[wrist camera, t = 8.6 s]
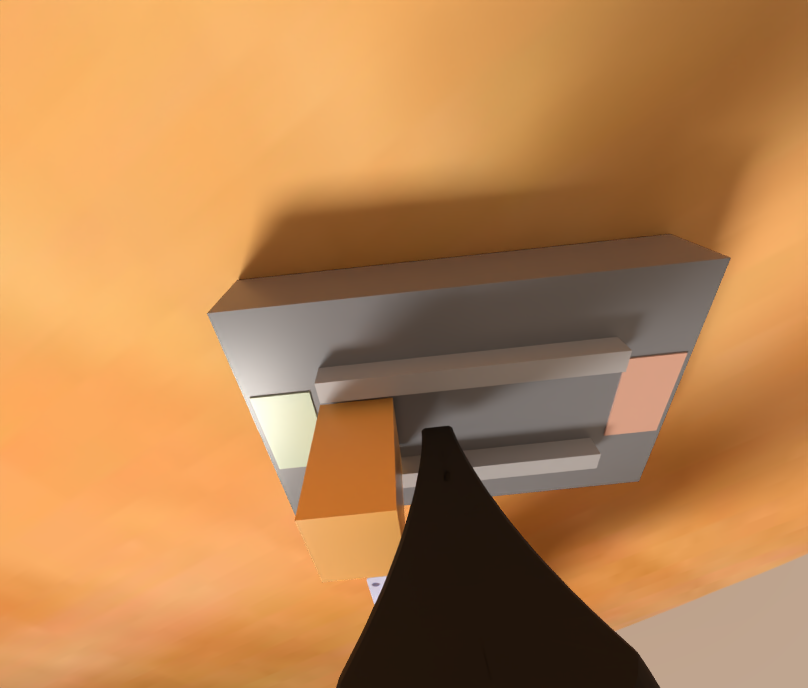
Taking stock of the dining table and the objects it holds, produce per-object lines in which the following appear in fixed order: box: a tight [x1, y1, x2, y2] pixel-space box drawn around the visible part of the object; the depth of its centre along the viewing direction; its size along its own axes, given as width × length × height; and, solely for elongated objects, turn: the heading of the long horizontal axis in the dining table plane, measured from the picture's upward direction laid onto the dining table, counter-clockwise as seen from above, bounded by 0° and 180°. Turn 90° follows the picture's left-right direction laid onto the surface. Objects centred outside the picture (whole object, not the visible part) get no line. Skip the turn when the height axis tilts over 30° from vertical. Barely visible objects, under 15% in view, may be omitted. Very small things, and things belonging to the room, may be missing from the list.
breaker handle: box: [295, 398, 405, 583], centre depth 11 cm, size 3×2×4 cm
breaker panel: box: [207, 234, 731, 516], centre depth 14 cm, size 10×15×3 cm, turn 95°
